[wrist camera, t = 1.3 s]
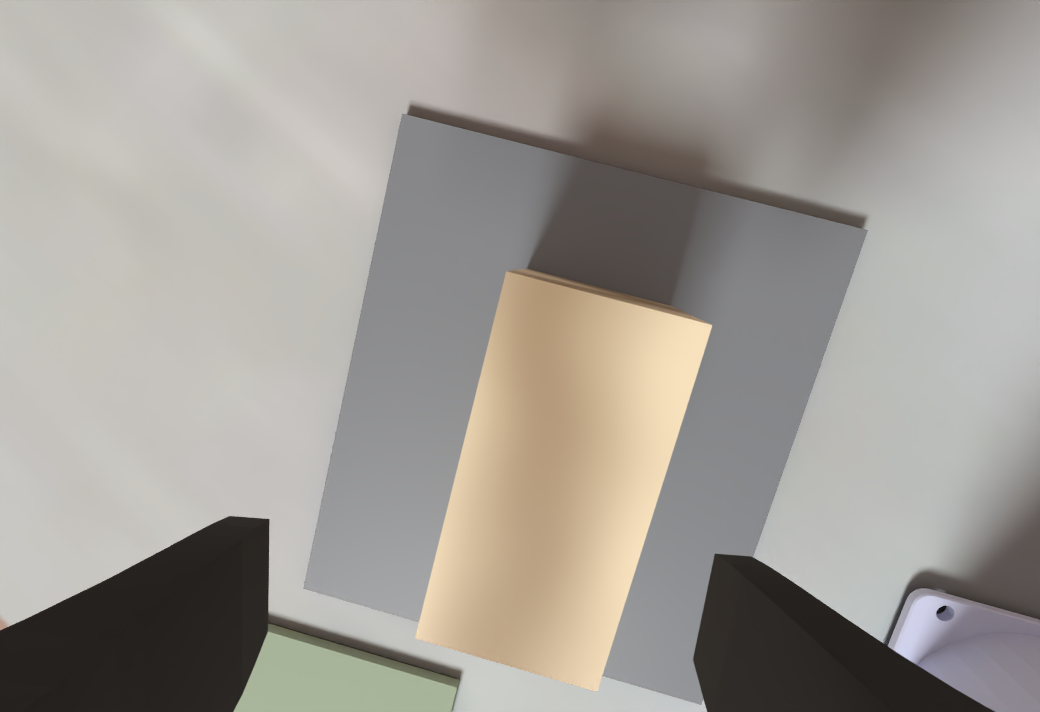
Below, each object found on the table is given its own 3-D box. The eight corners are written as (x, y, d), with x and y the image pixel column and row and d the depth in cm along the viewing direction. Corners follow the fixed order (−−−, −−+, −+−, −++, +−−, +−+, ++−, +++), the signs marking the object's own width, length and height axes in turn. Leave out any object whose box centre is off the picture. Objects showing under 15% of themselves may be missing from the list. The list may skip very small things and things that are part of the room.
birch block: (671, 306, 18) (712, 325, 13) (591, 572, 20) (597, 692, 14) (526, 268, 18) (506, 271, 13) (458, 534, 20) (414, 638, 14)
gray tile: (861, 230, 18) (868, 230, 17) (698, 696, 20) (701, 705, 20) (406, 116, 18) (401, 113, 18) (308, 582, 21) (302, 589, 21)
